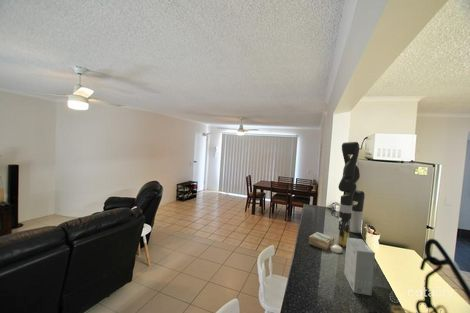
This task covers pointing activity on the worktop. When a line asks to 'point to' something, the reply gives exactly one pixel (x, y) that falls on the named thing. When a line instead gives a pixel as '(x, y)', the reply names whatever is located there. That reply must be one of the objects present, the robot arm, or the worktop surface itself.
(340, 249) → the white round dome
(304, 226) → the worktop surface
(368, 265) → the hard drive box
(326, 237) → the plinth
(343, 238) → the sauce bottle
